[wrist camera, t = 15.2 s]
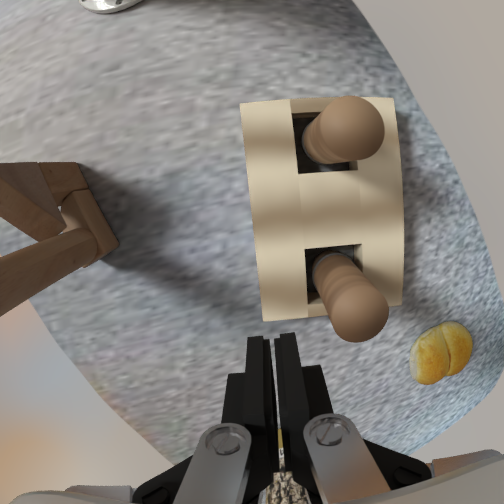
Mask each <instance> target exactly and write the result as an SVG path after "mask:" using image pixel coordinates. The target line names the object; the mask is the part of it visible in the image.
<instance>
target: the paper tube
mask: <svg viewBox="0 0 504 504" xmlns="http://www.w3.org/2000/svg"><path fill="white" fill-rule="evenodd" d="M278 441H279V460H280V473H274V482H272V483H271V484H270V485H269V486H268V487H266V504H309V503H308V500H307V497H306V494H305V488H304V487H302V486H301V485H299V484H297V483H296V482H294V481H293V475H292V471H291V472H285V463H284V453H283V443H282V434H281V428H280V429H278Z"/></svg>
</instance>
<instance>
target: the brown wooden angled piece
mask: <svg viewBox="0 0 504 504" xmlns="http://www.w3.org/2000/svg"><path fill="white" fill-rule="evenodd" d="M58 206H61V212H60V211H59V209H58ZM0 217H2V218H3V219H5V220H6V221H7V222H9V223H10V224H12V225H13V226H15V227H16V228H18V229H19V230H21V231H22V232H24V233H25V234H27V235H29V236H30V237H32V238H33V239H35V240H36V241H38V243H35V244H33V245H30V246H28V247H25V248H23V249H20V250H18V251H15V252H13V253H10V254H8V255H5V256H3V257H0V317H1V316H2V315H4V314H5V313H7V312H8V311H10V310H11V309H13V308H14V307H16V306H18V305H19V304H21V303H22V302H24V301H25V300H27V299H29V298H30V297H32V296H34V295H35V294H37V293H38V292H40V291H42V290H43V289H45V288H47V287H48V286H50V285H52V284H53V283H55V282H57V281H58V280H60V279H62V278H63V277H65V276H67V275H68V274H70V273H72V272H73V271H75V270H77V269H79V268H80V267H83V268H86V267H88V266H89V265H91V264H93V263H94V262H96V261H98V260H99V259H101V258H102V257H104V256H105V255H107V254H108V253H110V252H111V251H113V250H114V249H116V248H117V247H118V246H119V243H118V241H117V239H116V237H115V236H114V234H113V232H112V230H111V228H110V227H109V225H108V223H107V221H106V219H105V218H104V216H103V214H102V212H101V210H100V208H99V206H98V204H97V203H96V201H95V199H94V197H93V195H92V193H91V191H90V190H89V189H88V185H87V183H86V181H85V179H84V177H83V175H82V173H81V171H80V169H79V167H78V164H77V163H76V162H39V163H37V162H19V163H0ZM62 231H63V233H62V234H60V233H61V232H62ZM58 234H60V235H58Z"/></svg>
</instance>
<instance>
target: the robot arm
mask: <svg viewBox="0 0 504 504" xmlns="http://www.w3.org/2000/svg"><path fill="white" fill-rule="evenodd" d="M78 1H79V3H80V4H81V5H82V6H83V7H84V8H85V9H87V10H89V11H91V12H94V13H112V12H117V11H120V10H123V9H126V8H128V7H131V6H133V5H135V4H137V3H139V2H140V1H142V0H78ZM274 344H275V358H276V372H277V386H278V401H279V414H280V424H281V434H282V443H283V453H284V463H285V472H291V471H292V475H293V481H294V482H296V483H297V484H299V485H301V486H302V487H304V488H305V494H306V497H307V500H308V503H309V504H504V454H501V453H500V452H498V451H495V450H492V449H491V450H483V451H478V452H473V453H469V454H464V455H458V456H453V457H447V458H440V459H434V460H433V461H432V463H426V464H425V463H424V462H422V461H420V460H418V459H415V458H411V457H409V456H406V455H404V454H401V453H398V452H395V451H393V450H390V449H387V448H385V447H382V446H380V445H377V444H375V443H372V442H370V441H367V440H365V439H362V437H361V435H360V434H359V432H358V430H357V428H356V426H355V424H354V423H353V422H352V421H351V420H350V419H349V418H347V417H346V416H343V415H340V414H334V413H333V409H332V405H331V401H330V398H329V394H328V390H327V386H326V383H325V379H324V375H323V372H322V368H321V365H313V366H306V367H301V362H300V357H299V352H298V346H297V341H296V336H295V332H293V333H285V334H280V338H275V339H274ZM274 473H280V460H279V441H278V423H277V405H276V393H275V384H274V376H273V367H272V358H271V349H270V341H269V339H265V340H264V339H263V336H255V337H248V339H247V354H246V369H245V373H231V374H228V379H227V386H226V393H225V400H224V407H223V414H222V421H221V424H218V425H215V426H213V427H211V428H209V429H208V430H206V431H205V432H204V433H203V435H202V436H201V438H200V440H199V443H198V445H197V447H196V450H195V452H194V455H192V456H190V457H189V458H187V459H186V460H184V461H182V462H180V463H179V464H177V465H175V466H174V467H172V468H170V469H169V470H167V471H165V472H163V473H161V474H160V475H158V476H156V477H154V478H152V479H150V480H149V481H147V482H145V483H143V484H142V485H141V486H139V487H138V488H132V487H131V486H85V485H77V486H71V487H69V488H67V489H66V490H65V491H53V490H48V491H33V492H28V493H24V494H21V495H19V496H17V497H16V498H15V499H14V500H13V501H12V502H11V503H10V504H261V503H262V498H263V490H264V489H265V488H266V487H268V486H269V485H270V484H271V483H272V482H274Z"/></svg>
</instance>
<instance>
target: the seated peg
mask: <svg viewBox="0 0 504 504" xmlns="http://www.w3.org/2000/svg"><path fill="white" fill-rule="evenodd" d="M384 136H385V127H384V122H383V119H382V117H381V115H380V113H379V111H378V110H377V109H376V108H375V107H374V105H372V104H371V103H370V102H369V101H367V100H365V99H363V98H360V97H357V96H343V97H339V98H337V99H335V100H333V101H332V102H331V103H330V104H329V105H328V106H327V107H326V108H325V109H324V110H323V111H322V112H321V113H320V114H319V115H318V116H317V117H316V118H315V119H314V120H313V121H311V122H310V123H309V124H308V125H307V126H306V128H305V129H304V131H303V134H302V148H303V151H304V153H305V154H306V155H307V157H308V158H309V159H311V160H312V161H314V162H316V163H318V164H321V165H333V164H336V163H340V162H348V161H356V160H363V159H366V158H369V157H371V156H372V155H374V154H375V153H376V152H377V151H378V150H379V148H380V147H381V145H382V143H383V140H384Z"/></svg>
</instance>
